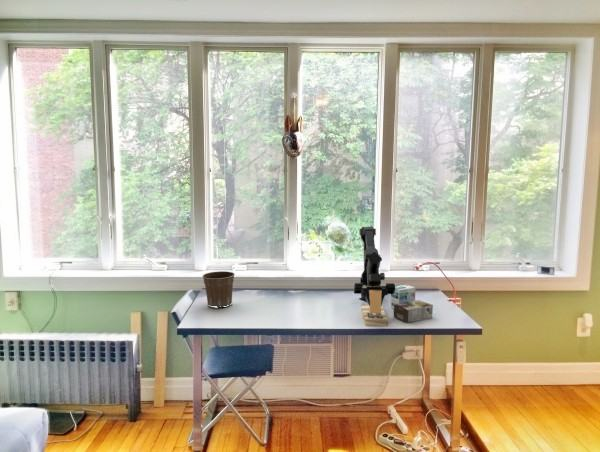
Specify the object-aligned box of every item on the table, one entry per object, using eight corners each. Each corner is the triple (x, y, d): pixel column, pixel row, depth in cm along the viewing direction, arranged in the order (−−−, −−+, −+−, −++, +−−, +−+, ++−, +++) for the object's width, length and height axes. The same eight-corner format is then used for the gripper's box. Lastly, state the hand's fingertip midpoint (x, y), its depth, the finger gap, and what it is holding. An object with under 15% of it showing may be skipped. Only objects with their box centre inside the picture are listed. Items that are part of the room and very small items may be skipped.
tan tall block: (368, 316, 197) (369, 290, 195) (379, 316, 197) (380, 290, 195) (369, 319, 193) (370, 292, 191) (380, 319, 193) (381, 292, 191)
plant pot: (196, 307, 215) (195, 276, 214) (214, 299, 230) (213, 270, 228) (224, 311, 209) (223, 279, 207) (241, 302, 224) (240, 272, 222)
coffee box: (418, 312, 207) (392, 317, 199) (419, 299, 206) (393, 304, 199) (432, 317, 199) (406, 323, 192) (433, 304, 198) (407, 309, 191)
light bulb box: (399, 311, 209) (399, 290, 207) (390, 307, 214) (390, 286, 213) (415, 308, 213) (416, 287, 212) (406, 304, 219) (407, 284, 218)
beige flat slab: (360, 309, 211) (360, 304, 211) (381, 310, 211) (381, 305, 210) (365, 325, 189) (365, 320, 189) (387, 325, 189) (387, 320, 188)
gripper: (354, 265, 196) (355, 296, 187) (395, 266, 195) (398, 296, 186) (353, 278, 205) (354, 307, 196) (392, 278, 204) (395, 308, 195)
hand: (375, 304), depth 193 cm, fingers closed on tan tall block, 5 cm apart
